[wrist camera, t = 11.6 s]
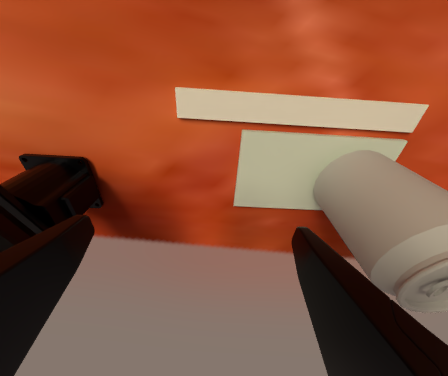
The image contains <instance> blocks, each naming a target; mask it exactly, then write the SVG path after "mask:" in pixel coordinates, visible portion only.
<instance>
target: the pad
mask: <svg viewBox="0 0 448 376" xmlns="http://www.w3.org/2000/svg"><path fill="white" fill-rule="evenodd" d="M407 142H408V141H406V140H404V139H388V138H372V137H356V136H340V135H324V134H308V133H292V132H276V131H260V130H244V129H242V135H241V143H240V152H239V161H238V170H237V178H236V187H235V196H234V206H244V207H265V208H286V209H307V210H322V208H321V207H320V205H319V204H318V203H317V201H316V200H315V197H314V192H313V189H314V185H315V181H316V179H317V178H318V176H319V174H320V173H321V171H322V170H323V169H324V168H325V167H326V166H327V165H328V164H329V163H330V162H332V161H334V160H335V159H337V158H339V157H340V156H342V155H344V154H347V153H350V152H353V151H359V150H371V151H375V152H379V153H381V154H383V155H384V156H386V157H388V158H390V159H391V160H393V161H396V159H397V158H398V156H399V154H400V153H401V151H402V150H403V148H404V147H405V145H406V143H407Z"/></svg>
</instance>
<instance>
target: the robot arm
mask: <svg viewBox="0 0 448 376" xmlns="http://www.w3.org/2000/svg"><path fill="white" fill-rule="evenodd" d="M19 159H20V161H21V163H22V164H23V166H24V168H25V169H26V171H24V172H22V173H20V174H18V175H16V176H14V177H13V178H11V179H9V180H7V181H5V182H3V183H1V184H0V376H14V375H15V373H16V371H17V370H18V368H19V366H20V365H21V363H22V361H23V360H24V358H25V356H26V355H27V353H28V351H29V349H30V348H31V346H32V345H33V343H34V341H35V340H36V338H37V336H38V334H39V333H40V331H41V329H42V328H43V326H44V324H45V323H46V321H47V319H48V318H49V316H50V314H51V313H52V311H53V309H54V307H55V306H56V304H57V303H58V301H59V299H60V298H61V296H62V294H63V292H64V291H65V289H66V287H67V286H68V284H69V282H70V281H71V279H72V277H73V276H74V274H75V272H76V270H77V268H78V267H79V265H80V263H81V261H82V259H83V257H84V254H85V252H86V250H87V248H88V246H89V244H90V242H91V239H92V237H93V235H94V231H95V230H94V227H93V224H92V222H91V220H90V218H89V217H88V216H87V215H83V214H84V213H85V212H86V211H87V210H88V208H101V207H102V206H103V201H102V198H101V196H100V193H99V190H98V188H97V185H96V182H95V180H94V177H93V175H92V172H91V169H90V167H89V164H88V161H87V160H86V159H85V158H83V157H75V156H57V155H39V154H23V155H21V156H19ZM80 161H81V162H82V163H81V162H80ZM97 203H98V204H97ZM292 248H293V253H294V258H295V264H296V269H297V274H298V278H299V282H300V285H301V289H302V292H303V295H304V298H305V302H306V305H307V308H308V311H309V315H310V318H311V321H312V325H313V328H314V331H315V334H316V337H317V341H318V344H319V348H320V350H321V354H322V357H323V361H324V364H325V367H326V370H327V373H328V376H448V345H447V344H445V343H444V342H443V341H441V340H440V339H439V338H438V337H436V336H435V335H434V334H433V333H431V332H430V331H429V330H427V329H426V328H425V327H424V326H423V325H421V324H420V323H419V322H418V321H417V320H415V319H414V318H413V317H412V316H411V315H409V314H408V313H407V312H406V311H404V310H403V309H402V308H401V307H400V306H399V305H398V304H396V303H395V302H394V301H393V300H390V298H389V297H388V296H387V295H386V294H385V293H383V292H382V291H381V290H380V289H379V288H378V287H376V286H375V285H374V284H373V283H372V282H371V281H369V280H368V279H367V278H366V277H365V276H364V275H362V274H361V273H360V272H359V271H358V270H357V269H355V268H354V267H353V266H352V265H351V264H350V263H348V262H347V261H346V260H345V259H344V258H343V257H341V256H340V255H339V254H338V253H337V252H336V251H334V250H333V249H332V248H331V247H330V246H329V245H327V244H326V243H325V242H324V241H323V240H322V239H320V238H319V237H318V236H317V235H316V234H315V233H313V232H312V231H311V230H310V229H309V228H307V227H297V228H296V230H295V233H294V235H293V238H292Z"/></svg>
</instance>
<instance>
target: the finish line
mask: <svg viewBox="0 0 448 376" xmlns="http://www.w3.org/2000/svg"><path fill="white" fill-rule="evenodd" d="M175 92H176V106H177V118H191V119H207V120H222V121H238V122H254V123H269V124H285V125H301V126H316V127H332V128H348V129H363V130H379V131H395V132H411V133H412V132H413V130H414V129H415V127H416V126H417V124H418V122H419V121H420V119H421V118H422V116H423V114H424V113H425V111H426V110H427V108H428V106H429V105H426V104H413V103H398V102H384V101H369V100H355V99H340V98H326V97H312V96H297V95H283V94H268V93H254V92H239V91H225V90H211V89H196V88H182V87H175Z"/></svg>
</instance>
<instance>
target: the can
mask: <svg viewBox="0 0 448 376" xmlns="http://www.w3.org/2000/svg"><path fill="white" fill-rule="evenodd" d="M313 192H314V197H315V200H316V201H317V203H318V204H319V205H320V207H321V208H322V210H323V211H324V213H325V214H326V216H327V217H328V219H329V220H330V222H331V223H332V225H333V226H334V228H335V229H336V231H337V232H338V233H339V235H340V236H341V238H342V239H343V241H344V242H345V244H346V245H347V247H348V248H349V250H350V251H351V253H352V254H353V256H354V257H355V258H356V260H357V261H358V263H359V264H360V266H361V267H362V269H363V270H364V272H365V273H366V274H367V276H368V278H369V279H370V280H371V282H372V283H373V284H374V285H375V286H376V287H378V288H379V289H380V290H382V291H384V292H386V293H389V294H391V295H394V296H396V300H397V301H398V303H399V304H400V306H402V307H404V308H406V309H408V310H410V311H415V312H422V313H433V312H445V311H448V191H446V190H445V189H443V188H441V187H439V186H438V185H436V184H434V183H432V182H430V181H429V180H427V179H425V178H423V177H422V176H420V175H418V174H416V173H415V172H413V171H411V170H409V169H407V168H406V167H404V166H402V165H400V164H399V163H397V162H395V161H393V160H391V159H390V158H388V157H386V156H384V155H383V154H381V153H379V152H375V151H371V150H359V151H353V152H350V153H347V154H344V155H342V156H340V157H339V158H337V159H335V160H334V161H332V162H330V163H329V164H328V165H327V166H326V167H325V168H324V169H323V170H322V171H321V173H320V174H319V176H318V178H317V179H316V181H315V185H314V189H313Z"/></svg>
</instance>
